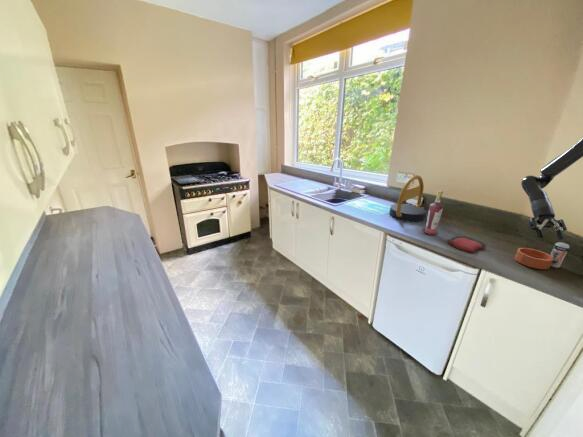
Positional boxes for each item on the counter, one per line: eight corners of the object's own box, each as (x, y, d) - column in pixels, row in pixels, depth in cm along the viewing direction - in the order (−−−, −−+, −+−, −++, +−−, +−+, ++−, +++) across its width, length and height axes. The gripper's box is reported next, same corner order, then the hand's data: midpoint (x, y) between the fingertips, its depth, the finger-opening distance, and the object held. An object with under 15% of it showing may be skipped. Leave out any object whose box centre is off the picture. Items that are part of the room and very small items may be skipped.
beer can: (543, 263, 117) (553, 242, 113) (548, 262, 119) (558, 240, 114) (556, 269, 113) (567, 246, 108) (561, 267, 114) (572, 245, 110)
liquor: (432, 237, 145) (443, 193, 135) (420, 232, 151) (430, 190, 140) (438, 234, 149) (449, 191, 139) (427, 230, 154) (437, 188, 144)
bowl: (549, 264, 117) (554, 254, 115) (547, 273, 109) (552, 263, 107) (516, 254, 126) (519, 245, 124) (512, 262, 118) (515, 252, 116)
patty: (471, 254, 125) (472, 251, 124) (444, 244, 136) (445, 241, 135) (487, 247, 133) (488, 244, 132) (460, 237, 144) (461, 234, 143)
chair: (433, 216, 180) (443, 175, 169) (411, 227, 160) (421, 181, 148) (401, 207, 198) (409, 170, 187) (378, 216, 177) (385, 175, 166)
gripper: (532, 205, 122) (541, 234, 115) (564, 207, 119) (575, 236, 113) (521, 211, 128) (529, 239, 122) (551, 213, 126) (561, 241, 120)
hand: (551, 238), depth 117 cm, fingers open, 8 cm apart
